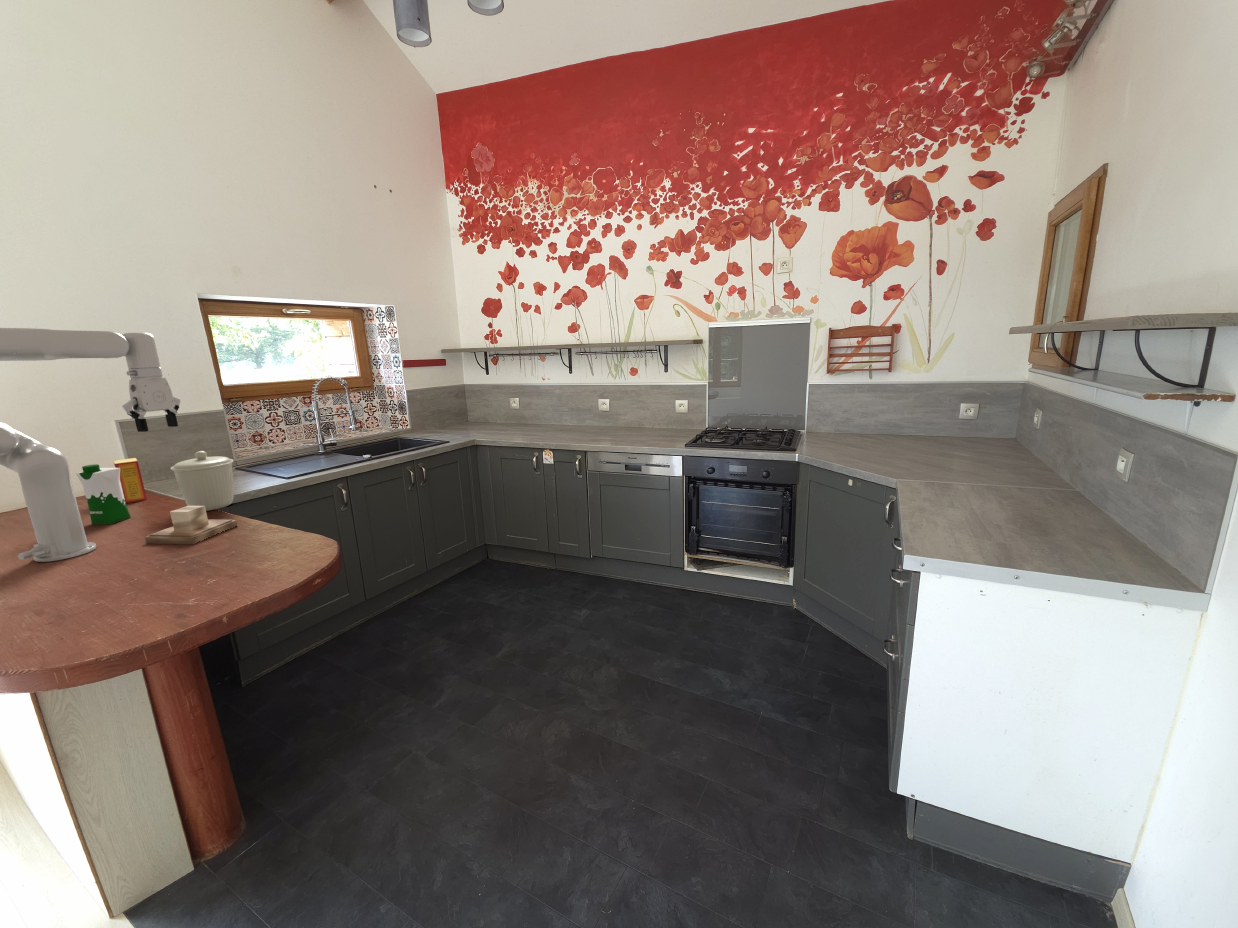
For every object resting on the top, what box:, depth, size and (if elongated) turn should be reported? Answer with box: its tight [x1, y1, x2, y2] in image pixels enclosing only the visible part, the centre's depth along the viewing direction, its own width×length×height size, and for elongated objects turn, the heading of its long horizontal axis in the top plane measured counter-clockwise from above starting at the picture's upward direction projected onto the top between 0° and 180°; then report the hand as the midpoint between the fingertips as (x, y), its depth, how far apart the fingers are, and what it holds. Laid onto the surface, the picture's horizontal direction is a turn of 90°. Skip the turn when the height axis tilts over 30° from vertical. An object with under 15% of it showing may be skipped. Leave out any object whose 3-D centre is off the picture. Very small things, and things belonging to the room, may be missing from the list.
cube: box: [169, 505, 209, 531], centre depth 164 cm, size 6×6×6 cm
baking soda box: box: [112, 457, 148, 504], centre depth 206 cm, size 10×6×16 cm
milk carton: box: [76, 463, 132, 525], centre depth 179 cm, size 9×9×20 cm
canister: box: [170, 450, 235, 512], centre depth 192 cm, size 18×18×21 cm
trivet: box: [144, 518, 238, 545], centre depth 165 cm, size 16×16×2 cm
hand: (158, 429), depth 166 cm, fingers open, 9 cm apart
